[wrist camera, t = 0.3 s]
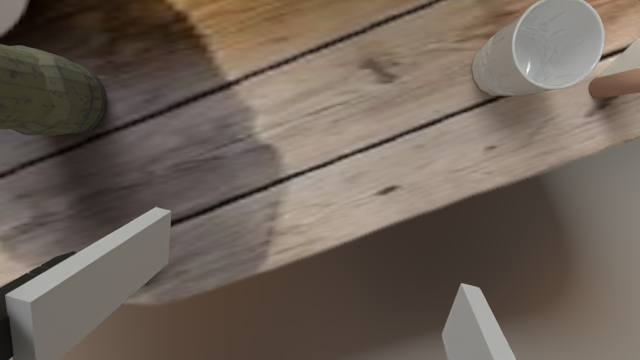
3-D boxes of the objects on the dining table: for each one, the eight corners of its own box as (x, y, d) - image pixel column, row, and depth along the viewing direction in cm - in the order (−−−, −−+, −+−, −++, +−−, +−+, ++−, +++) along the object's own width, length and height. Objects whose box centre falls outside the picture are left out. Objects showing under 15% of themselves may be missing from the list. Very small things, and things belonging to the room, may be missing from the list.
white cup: (548, 51, 39) (623, 21, 29) (512, 113, 40) (573, 104, 30) (488, 19, 39) (543, -23, 29) (453, 82, 39) (495, 63, 30)
